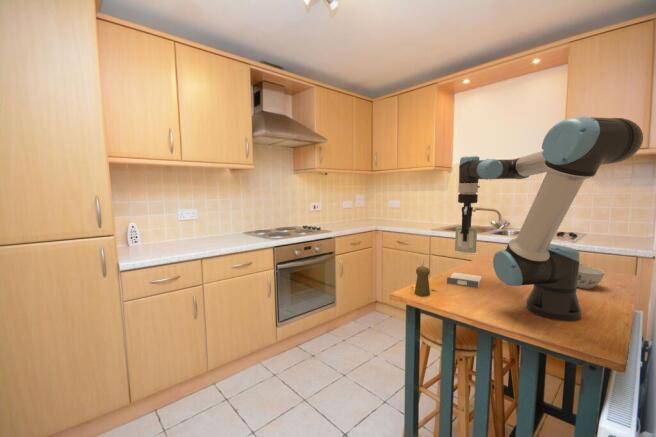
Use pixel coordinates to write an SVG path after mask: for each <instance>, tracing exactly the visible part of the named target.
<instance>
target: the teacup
mask: <svg viewBox="0 0 656 437" xmlns="http://www.w3.org/2000/svg"><path fill="white" fill-rule="evenodd" d="M604 275H605V271H604V270H603V269H600V268H597V267H592V266H588V265H582V264H581V265H580V264H579V271H578V280H577V288H579V289H585V290H589V289H591V290H592V289H593V288H594V287H596V286H597V285H599V284H600V283H601V281H602V280H603V279H604Z"/></svg>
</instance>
